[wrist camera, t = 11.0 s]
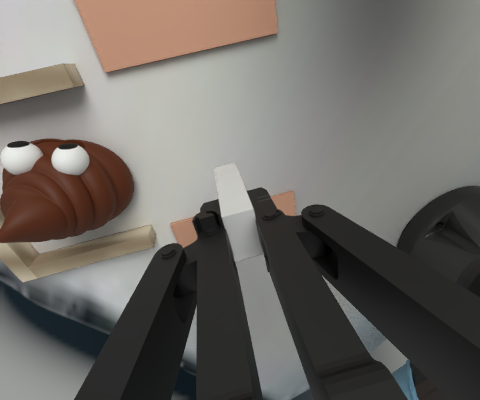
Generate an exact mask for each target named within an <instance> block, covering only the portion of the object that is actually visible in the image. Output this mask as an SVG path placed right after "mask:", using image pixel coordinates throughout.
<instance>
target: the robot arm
mask: <svg viewBox="0 0 480 400" xmlns="http://www.w3.org/2000/svg"><path fill="white" fill-rule="evenodd" d="M214 173H215V179H216V185H217V192H218V198H219V199H217V200H214V201H210V202H206V203H204V204H203V205H202V207H201V208H200V213H198V214H197V215H196V216H195V217H194V218H193V220H192V223H193V225H194V228H195V231H196V233H197V240H196V241H194V242H193V243H191V244H190V245H188V246H186V247H184V248H183V247H182V245H180V244H178V243H172V244H168V245H166V246H164V247H162V248H161V249H159V250H158V251H157V252H156V254H155V255H154V257H153V258H152V260H151V262H150V264H149V266H148V267H147V269H146V271H145V273H144V275H143V276H142V278H141V280H140V282H139V284H138V285H137V287H136V289H135V291H134V293H133V294H132V296H131V298H130V300H129V302H128V303H127V305H126V307H125V309H124V311H123V312H122V314H121V316H120V318H119V320H118V321H117V323H116V325H115V327H114V329H113V330H112V332H111V334H110V336H109V338H108V340H107V341H106V343H105V345H104V347H103V348H102V350H101V352H100V354H99V356H98V358H97V359H96V361H95V363H94V365H93V367H92V369H91V370H90V372H89V374H88V376H87V377H86V379H85V381H84V383H83V385H82V386H81V388H80V390H79V392H78V394H77V395H76V397H75V399H74V400H171V396H172V393H173V390H174V386H175V382H176V379H177V375H178V371H179V368H180V364H181V360H182V357H183V353H184V349H185V346H186V342H187V338H188V335H189V331H190V327H191V324H192V320H193V316H194V313H195V309H196V305H197V382H196V383H197V384H196V387H197V388H196V400H263V397H262V392H261V387H260V382H259V377H258V372H257V367H256V362H255V357H254V352H253V347H252V342H251V337H250V332H249V327H248V322H247V317H246V312H245V307H244V301H243V296H242V291H241V286H240V281H239V276H238V271H237V267H236V264H235V262H236V261H240V260H243V259H247V258H251V257H254V256H258V255H262V254H263V252H264V257H265V261H266V266H267V270H268V272H270V275H271V278H272V281H273V284H274V287H275V289H276V292H277V295H278V298H279V301H280V304H281V306H282V309H283V312H284V315H285V318H286V321H287V324H288V326H289V329H290V332H291V335H292V338H293V341H294V343H295V346H296V349H297V352H298V355H299V358H300V360H301V363H302V366H303V369H304V372H305V375H306V378H307V380H308V383H309V386H310V389H311V392H312V395H313V397H314V400H480V186H467V187H462V188H458V189H455V190H453V191H450V192H448V193H446V194H444V195H442V196H440V197H438V198H437V199H435V200H434V201H432V202H431V203H429V204H428V205H427V206H426V207H424V208H423V209H422V210H421V211H420V212H419V213H418V214H417V215H416V216H415V217H414V218H413V219H412V220H411V222H410V223H409V224H408V226H407V227H406V229H405V230H404V232H403V234H402V236H401V238H400V241H399V244H398V248H396V247H395V246H393V245H391V244H390V243H388V242H386V241H385V240H383V239H381V238H380V237H378V236H376V235H375V234H373V233H371V232H370V231H368V230H366V229H364V228H363V227H361V226H359V225H358V224H356V223H354V222H353V221H351V220H349V219H348V218H346V217H344V216H343V215H341V214H339V213H338V212H336V211H334V210H333V209H331V208H329V207H327V206H325V205H318V204H317V205H311V206H307V207H306V208H304V209H303V210H302V212H301V214H302V215H298V216H289V215H285V214H284V212H283V211H281V210H279V209H277V207H276V206H275V204H274V202H273V200H272V199H271V197H270V195H269V194H268V192H267V190H265V189H263V188H261V187H260V188H257V189H253V190H249V191H246V189H245V186H244V184H243V181H242V179H241V177H240V174H239V172H238V169H237V167H236V164H235V163H232V164H228V165H224V166H220V167H216V168H214ZM322 275H323V276H324V277H325V278H326V279H327V280H328V281H329V282H330V283H331V284H332V285H333V286H334V287H335V288H336V289H337V290H338V291H339V292H340V293H341V294H342V295H343V296H344V297H345V298H346V299H347V300H348V301H349V302H350V303H351V304H352V305H353V306H354V307H355V308H356V309H357V310H358V311H359V312H360V313H361V314H362V315H363V316H365V317H366V318H367V319H368V320H369V321H370V322H371V323H372V324H373V325H374V326H375V327H376V328H377V329H378V330H379V331H380V332H381V333H382V334H383V335H384V336H385V337H386V338H387V339H388V340H389V341H390V342H391V343H392V344H393V345H394V346H395V347H396V348H397V349H398V350H399V351H400V352H402V354H403V355H405V357H407V358H408V359H409V360H407V361H406V364H405V365H404V366H402V367H400V368H399V369H398V370H396V371H395V372H393V373H392V374H391V373H390V371H389V370H388V369H387V368H386V367H385V366H384V365H383V364H382V363H381V362H379V361H376V360H374V359H373V358H372V357H371V356H370V354H369V353H368V351H367V350H366V348H365V346H364V345H363V343H362V341H361V340H360V338H359V336H358V335H357V333H356V331H355V330H354V328H353V326H352V325H351V323H350V322H349V320H348V318H347V317H346V315H345V313H344V312H343V310H342V308H341V307H340V305H339V303H338V302H337V300H336V298H335V297H334V295H333V293H332V292H331V290H330V288H329V287H328V285H327V284H326V282H325V280H324V279H323V277H322Z"/></svg>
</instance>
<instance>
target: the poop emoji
mask: <svg viewBox="0 0 480 400" xmlns="http://www.w3.org/2000/svg"><path fill="white" fill-rule="evenodd" d="M0 160H1V164H2V166H3V167H4V169H3V176H2V177H3V186H2V190H3V193H2V195H1V198H0V207H1V211H2V213H3V215H4V217H5V219H4V222H3V225H2V227H1V229H0V243H16V242H43V241H48V240H51V239H54V240H59V239H64V238H67V237H72V236H78V235H81V234H83V233H84V232H86V231H87V230H94V229H97V228H99V227H101V226H103V225H104V224H106V223H107V222H108V221H110V220H111V219H113V218H115V217H116V216H118V215H119V214H120V213H121V212H122V211H124V210H125V208H126V207H127V206H128V204H129V203H130V201H131V199H132V196H133V192H134V182H133V178H132V175H131V172H130V170H129V168H128V167H127V165H126V164H125V163H124V161H123V160H122V159H121V158H120V157H119V156H118V155H116V154H115V153H114V152H112V151H111V150H109V149H107V148H105V147H103V146H101V145H98V144H95V143H92V142H87V141H82V140H59V139H40V140H35V141H32V142H26V141H17V142H12V143H9V144H8V145H7V146H6V147H5V148H4V149H3V151H2V152H1V156H0Z"/></svg>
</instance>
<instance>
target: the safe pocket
mask: <svg viewBox="0 0 480 400" xmlns="http://www.w3.org/2000/svg"><path fill="white" fill-rule="evenodd" d="M82 85H84V83H83V81H82V79H81V76H80V74H79V72H78V70H77V68H76V66H75V64H59V65H54V66H50V67H45V68H41V69H37V70H32V71H28V72H23V73H19V74H14V75H10V76H5V77H1V78H0V104H4V103H9V102H13V101H17V100H22V99H26V98H30V97H35V96H39V95H43V94H48V93H52V92H56V91H61V90H65V89H69V88H74V87H78V86H82ZM4 219H5V217H4V215H3V213H2V211H1V208H0V229H1V227H2V225H3V222H4ZM155 239H156V234H155V232H154V230H153V228H152V225H148V226H144V227H140V228H136V229H133V230H129V231H125V232H121V233H118V234H114V235H110V236H106V237H102V238H99V239H95V240H91V241H87V242H84V243H80V244H76V245H72V246H69V247H65V248H61V249H57V250H54V251H50V252H46V253H42V254H38V252H37V251H36V250H35V249H34V248H33V246H32V245H31V244H30V243H29V242H16V243H0V259H1V260H2V261H3V262H4V263H5V264H6V265H7V266H8V268H9V269H10V270H11V271H12V272H13V273H14V274H15V275H16V276H17V277H18V278H19V279H20V280H21V281H22V282H25V281H29V280H33V279H37V278H40V277H44V276H48V275H51V274H55V273H59V272H62V271H66V270H70V269H74V268H77V267H81V266H85V265H88V264H92V263H96V262H99V261H103V260H107V259H111V258H114V257H118V256H122V255H125V254H129V253H133V252H136V251H140V250H144V249H147V248H151V247H154V244H155Z"/></svg>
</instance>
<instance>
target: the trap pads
mask: <svg viewBox="0 0 480 400" xmlns="http://www.w3.org/2000/svg"><path fill="white" fill-rule="evenodd" d="M74 1H75V3H76V5H77V8H78V10H79V12H80V15H81V17H82V19H83V22H84V24H85V27H86V29H87V31H88V34H89V36H90V38H91V41H92V43H93V45H94V48H95V50H96V52H97V55H98V57H99V59H100V62H101V64H102V66H103V69H104V71H105V72H110V71H115V70H119V69H123V68H128V67H132V66H136V65H141V64H145V63H150V62H154V61H158V60H163V59H167V58H171V57H176V56H180V55H184V54H189V53H193V52H198V51H202V50H206V49H211V48H215V47H219V46H224V45H228V44H233V43H237V42H241V41H246V40H250V39H254V38H259V37H263V36H267V35H272V34H276V33H278V27H277V17H276V7H275V0H74ZM271 199H272V200H273V202H274V204H275V206H276V207H277V209H279V210H281V211H283V212H284V214H285V215H289V216H296V209H295V199H294V192H293V191H291V192H287V193H283V194H279V195H276V196H272V197H271ZM193 218H194V217H193ZM193 218H189V219H186V220H182V221H178V222H174V223H171V228H172V230H173V232H174V235H175V237H176V239H177V242H178V244H180V245H182V247H183V248H184V247H186V246H188V245H190V244H191V243H193V242H194V241H196V240H197V233H196V231H195V228H194V225H193V223H192V220H193Z"/></svg>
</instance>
